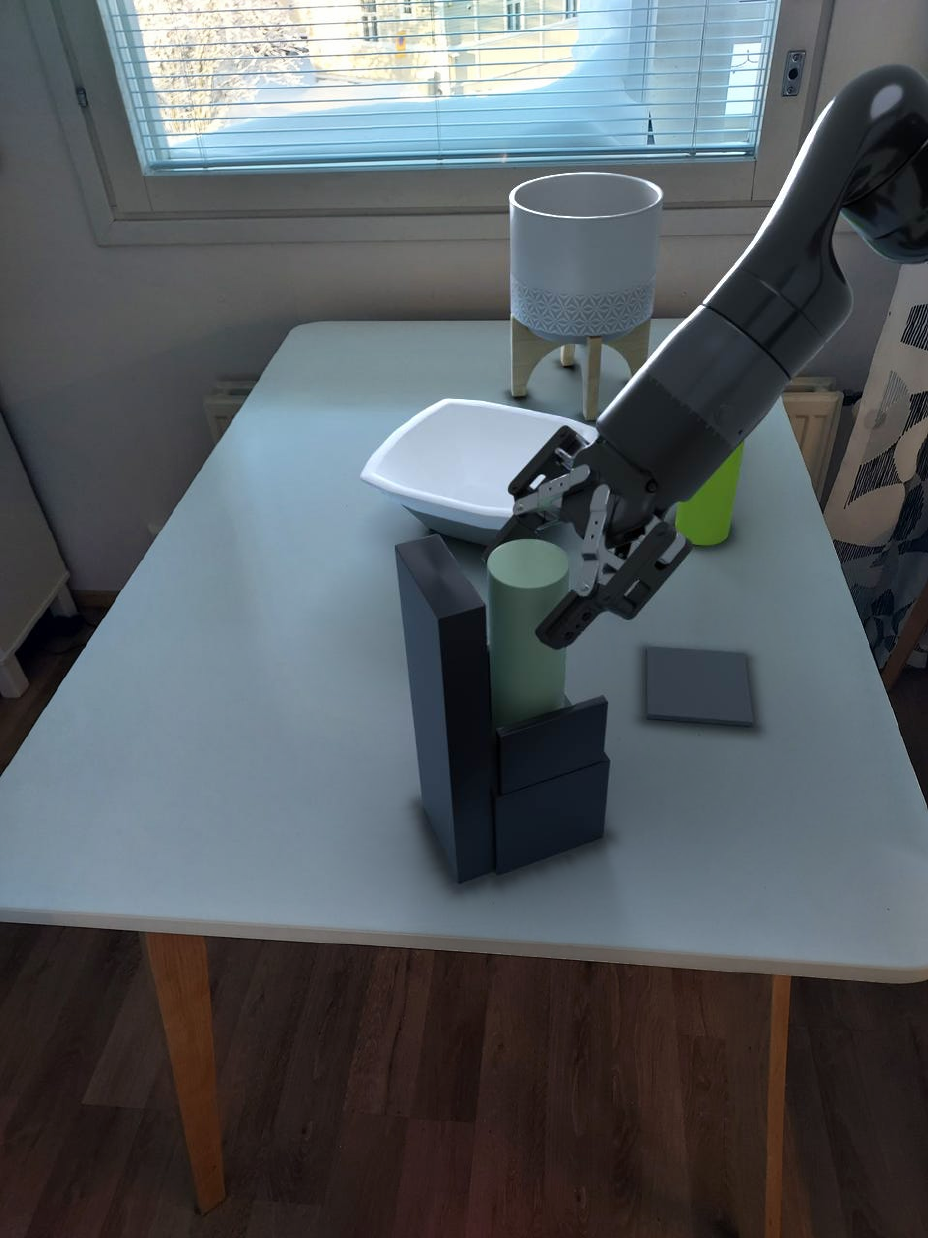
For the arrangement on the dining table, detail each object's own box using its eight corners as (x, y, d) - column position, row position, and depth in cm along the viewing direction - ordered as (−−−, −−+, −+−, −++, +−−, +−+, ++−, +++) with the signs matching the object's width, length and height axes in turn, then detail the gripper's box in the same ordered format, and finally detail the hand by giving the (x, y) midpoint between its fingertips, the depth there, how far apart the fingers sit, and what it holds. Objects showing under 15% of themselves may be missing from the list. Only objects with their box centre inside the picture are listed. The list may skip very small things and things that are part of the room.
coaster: (752, 726, 81) (753, 722, 80) (647, 718, 82) (647, 714, 81) (744, 657, 87) (744, 652, 87) (646, 650, 89) (647, 646, 88)
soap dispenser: (727, 554, 100) (757, 381, 87) (666, 536, 103) (687, 366, 90) (745, 526, 104) (776, 357, 91) (686, 510, 106) (708, 343, 94)
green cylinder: (560, 765, 66) (567, 590, 56) (488, 759, 67) (481, 585, 57) (564, 713, 70) (572, 540, 60) (496, 708, 71) (492, 536, 61)
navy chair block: (553, 756, 79) (561, 497, 62) (603, 837, 72) (627, 570, 56) (420, 801, 76) (391, 540, 59) (460, 889, 69) (440, 624, 53)
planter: (503, 365, 138) (500, 178, 121) (628, 355, 139) (642, 167, 122) (521, 426, 123) (521, 222, 107) (661, 414, 124) (682, 210, 108)
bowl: (536, 595, 96) (537, 527, 90) (349, 543, 104) (340, 478, 99) (611, 489, 110) (616, 426, 105) (442, 451, 119) (438, 390, 114)
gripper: (793, 490, 53) (603, 691, 57) (663, 388, 63) (510, 565, 68) (726, 426, 48) (524, 651, 53) (598, 327, 58) (438, 522, 63)
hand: (517, 602), depth 60 cm, fingers open, 8 cm apart
